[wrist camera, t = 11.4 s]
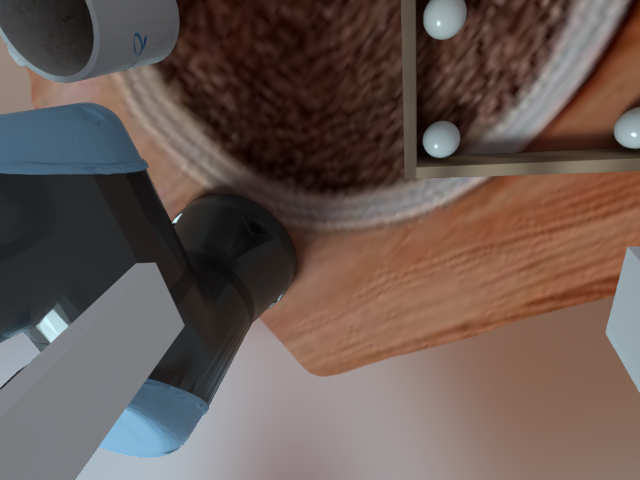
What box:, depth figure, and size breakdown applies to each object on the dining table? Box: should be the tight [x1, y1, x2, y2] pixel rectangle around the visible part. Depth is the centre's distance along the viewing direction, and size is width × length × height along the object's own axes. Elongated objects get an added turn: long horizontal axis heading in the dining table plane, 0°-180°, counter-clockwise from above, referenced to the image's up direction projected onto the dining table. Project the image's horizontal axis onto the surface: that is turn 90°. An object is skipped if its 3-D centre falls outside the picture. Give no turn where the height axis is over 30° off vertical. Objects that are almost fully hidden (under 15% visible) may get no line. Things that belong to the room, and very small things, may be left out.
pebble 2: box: [614, 107, 640, 149], centre depth 28 cm, size 3×3×3 cm
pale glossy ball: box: [423, 121, 460, 158], centre depth 32 cm, size 3×3×3 cm
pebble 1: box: [423, 0, 467, 40], centre depth 28 cm, size 3×3×3 cm
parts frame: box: [401, 0, 640, 179], centre depth 28 cm, size 20×15×2 cm
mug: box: [0, 0, 180, 83], centre depth 30 cm, size 12×9×10 cm
